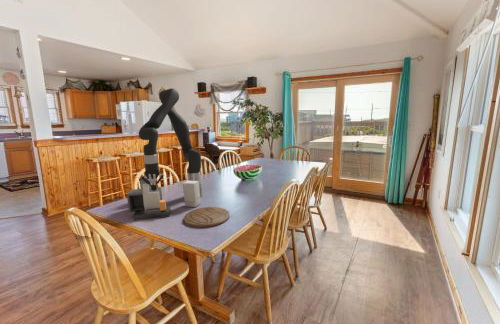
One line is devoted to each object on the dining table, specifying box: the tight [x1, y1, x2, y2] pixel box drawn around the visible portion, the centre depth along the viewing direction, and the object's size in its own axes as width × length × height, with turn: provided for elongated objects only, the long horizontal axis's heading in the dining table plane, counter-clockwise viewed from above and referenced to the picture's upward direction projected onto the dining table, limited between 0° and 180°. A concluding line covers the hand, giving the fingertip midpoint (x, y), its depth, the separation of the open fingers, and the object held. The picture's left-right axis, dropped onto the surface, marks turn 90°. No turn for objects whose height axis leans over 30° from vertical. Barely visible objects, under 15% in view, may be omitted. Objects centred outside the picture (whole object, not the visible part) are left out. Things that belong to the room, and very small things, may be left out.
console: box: [132, 206, 171, 221], centre depth 144 cm, size 19×8×3 cm, turn 103°
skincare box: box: [182, 180, 202, 208], centre depth 158 cm, size 8×7×16 cm
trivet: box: [183, 206, 230, 229], centre depth 139 cm, size 25×25×2 cm
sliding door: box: [142, 184, 160, 209], centre depth 149 cm, size 9×2×16 cm, turn 103°
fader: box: [159, 199, 167, 211], centre depth 145 cm, size 3×4×5 cm
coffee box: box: [139, 177, 154, 189], centre depth 172 cm, size 9×6×16 cm
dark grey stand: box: [126, 186, 163, 216], centre depth 153 cm, size 18×12×12 cm
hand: (154, 190), depth 149 cm, fingers closed
